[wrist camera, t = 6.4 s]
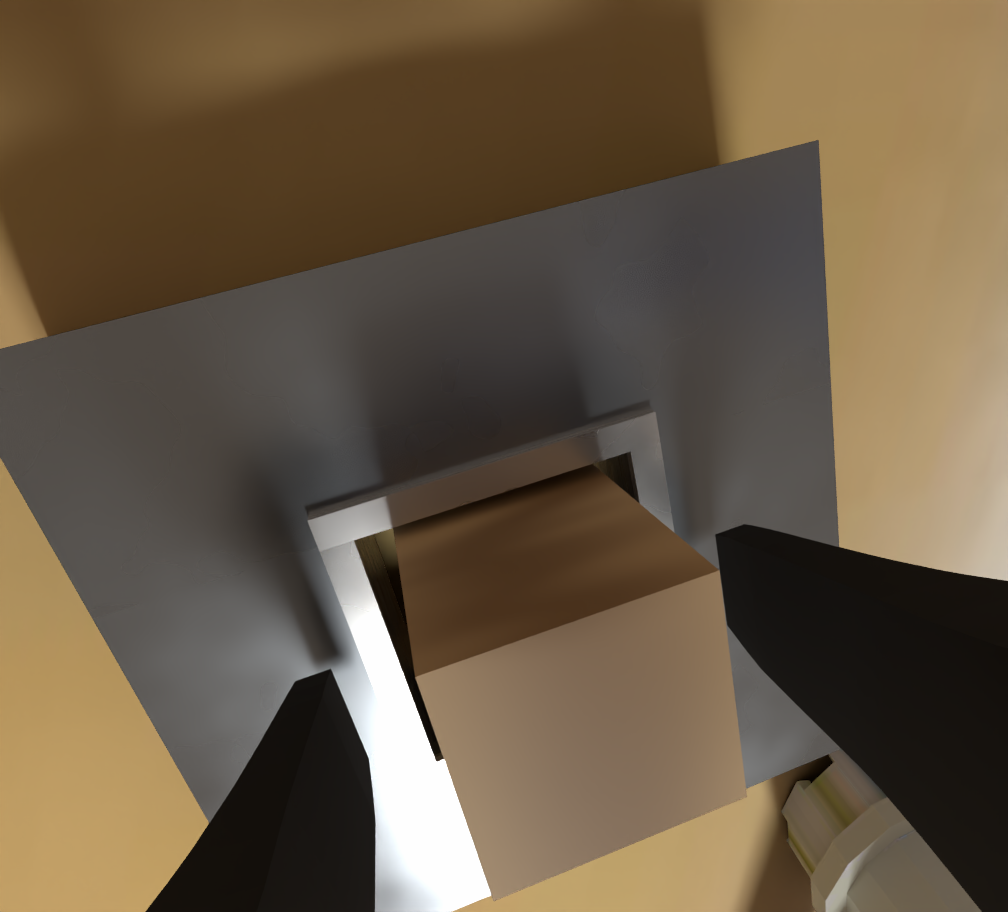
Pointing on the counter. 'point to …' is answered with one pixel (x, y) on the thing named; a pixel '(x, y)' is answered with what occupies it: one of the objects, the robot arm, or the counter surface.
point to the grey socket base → (426, 459)
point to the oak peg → (569, 672)
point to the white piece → (864, 848)
